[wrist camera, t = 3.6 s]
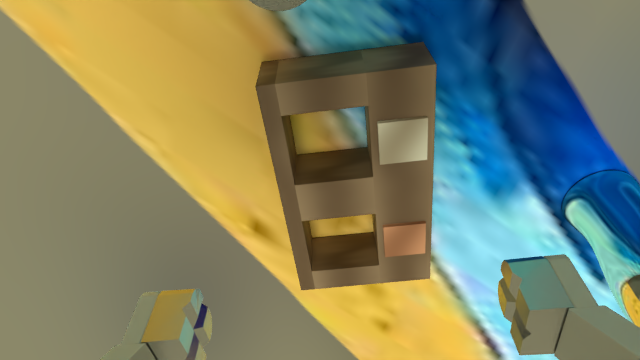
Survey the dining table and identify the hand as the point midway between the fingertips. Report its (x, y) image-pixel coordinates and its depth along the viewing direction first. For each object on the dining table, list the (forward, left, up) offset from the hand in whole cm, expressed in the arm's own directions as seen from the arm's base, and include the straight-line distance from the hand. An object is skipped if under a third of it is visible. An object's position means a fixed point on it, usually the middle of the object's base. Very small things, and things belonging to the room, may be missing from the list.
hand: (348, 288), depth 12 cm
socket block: (-1, +11, -21) cm, 24 cm away
